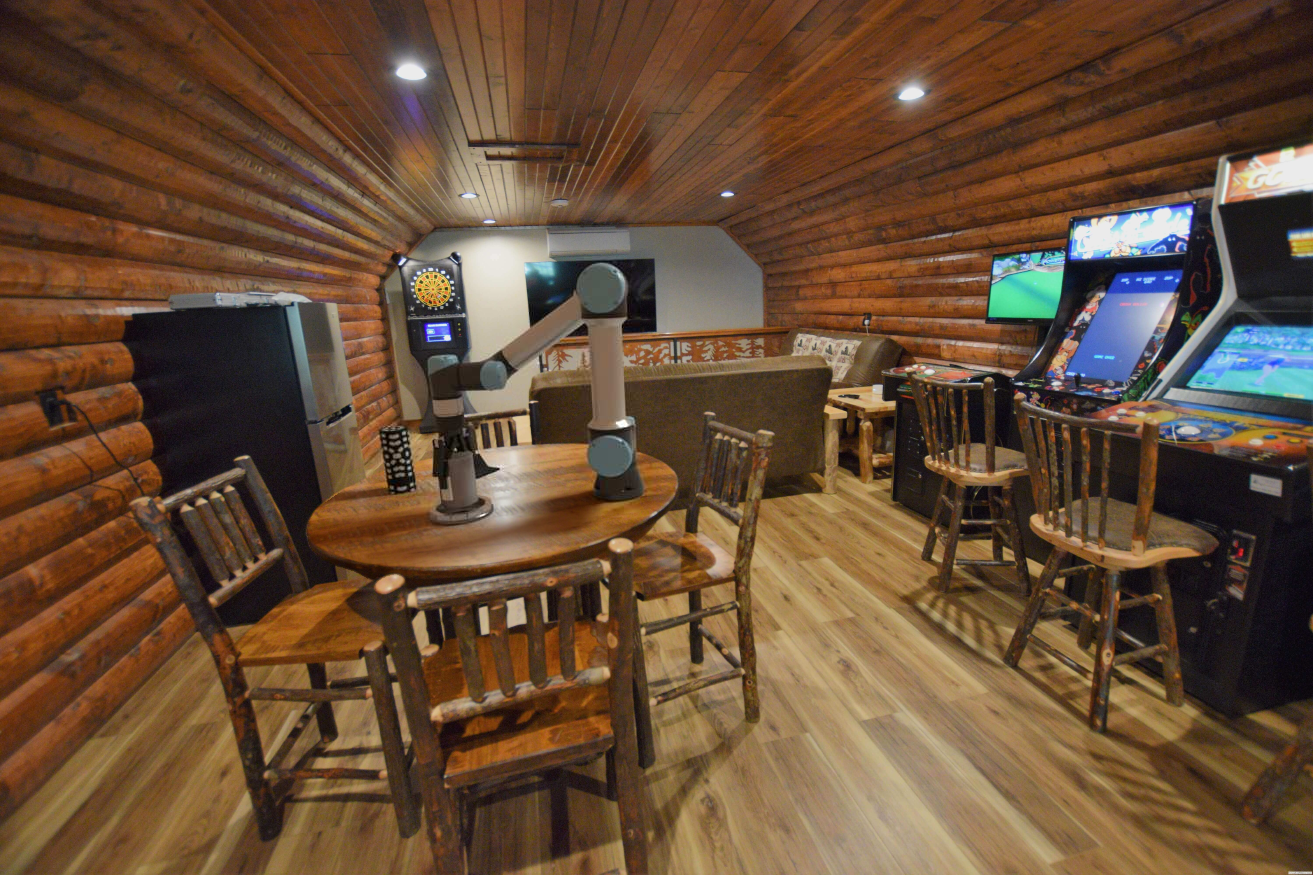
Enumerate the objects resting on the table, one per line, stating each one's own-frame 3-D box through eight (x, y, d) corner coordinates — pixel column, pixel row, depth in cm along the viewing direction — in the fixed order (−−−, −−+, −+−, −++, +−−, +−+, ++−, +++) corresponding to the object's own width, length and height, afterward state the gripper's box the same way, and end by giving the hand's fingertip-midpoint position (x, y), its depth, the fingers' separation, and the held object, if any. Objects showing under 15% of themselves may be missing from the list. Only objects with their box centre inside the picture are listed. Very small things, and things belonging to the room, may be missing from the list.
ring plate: (505, 504, 166) (504, 496, 166) (471, 527, 150) (470, 518, 150) (453, 501, 171) (452, 493, 170) (416, 523, 155) (414, 514, 154)
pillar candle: (440, 500, 162) (432, 448, 158) (475, 494, 166) (469, 443, 162) (443, 511, 154) (435, 457, 150) (481, 504, 158) (474, 451, 154)
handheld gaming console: (483, 474, 191) (466, 450, 192) (469, 487, 193) (452, 462, 194) (502, 469, 202) (486, 446, 203) (489, 481, 204) (473, 458, 205)
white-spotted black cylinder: (382, 492, 182) (372, 430, 177) (402, 484, 189) (393, 424, 184) (402, 495, 179) (392, 432, 174) (422, 486, 186) (413, 426, 181)
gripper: (461, 405, 165) (470, 480, 171) (409, 422, 145) (421, 506, 150) (484, 406, 163) (492, 481, 169) (435, 423, 143) (446, 508, 148)
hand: (459, 493), depth 159 cm, fingers closed on pillar candle, 10 cm apart
